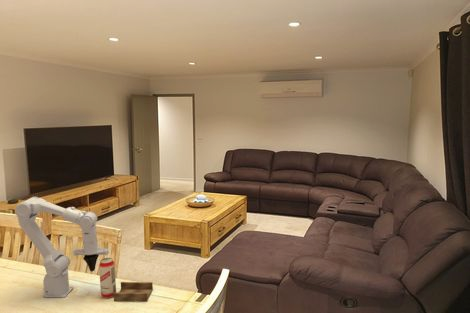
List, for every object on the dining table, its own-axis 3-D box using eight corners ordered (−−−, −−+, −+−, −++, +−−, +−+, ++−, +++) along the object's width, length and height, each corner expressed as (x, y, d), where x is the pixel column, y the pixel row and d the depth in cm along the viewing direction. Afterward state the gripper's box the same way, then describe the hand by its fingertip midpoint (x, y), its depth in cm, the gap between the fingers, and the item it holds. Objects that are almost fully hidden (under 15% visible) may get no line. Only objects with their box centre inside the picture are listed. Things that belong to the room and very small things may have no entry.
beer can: (111, 299, 151) (109, 264, 148) (98, 298, 152) (95, 262, 150) (119, 291, 157) (117, 257, 154) (106, 290, 158) (104, 256, 156)
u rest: (113, 301, 150) (113, 293, 149) (121, 289, 159) (121, 281, 159) (147, 301, 149) (146, 293, 149) (152, 289, 159) (152, 282, 158)
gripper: (110, 236, 157) (112, 265, 159) (77, 237, 157) (80, 266, 159) (104, 243, 150) (106, 273, 152) (69, 243, 150) (72, 273, 152)
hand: (92, 270), depth 155 cm, fingers closed
